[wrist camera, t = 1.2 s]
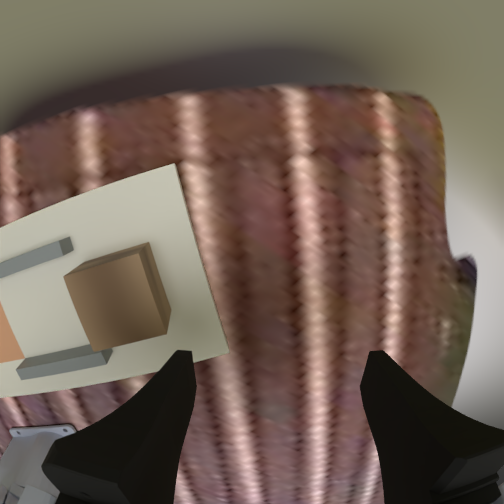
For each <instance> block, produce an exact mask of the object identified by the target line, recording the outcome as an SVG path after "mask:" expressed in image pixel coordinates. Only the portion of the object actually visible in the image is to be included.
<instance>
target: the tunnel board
mask: <svg viewBox="0 0 504 504" xmlns="http://www.w3.org/2000/svg"><path fill="white" fill-rule="evenodd" d="M147 242H149V243H150V246H151V249H152V253H153V256H154V259H155V262H156V265H157V269H158V272H159V275H160V278H161V281H162V284H163V287H164V290H165V293H166V296H167V299H168V301H169V304H170V307H171V315H170V320H169V326H168V331H167V334H166V335H162V336H158V337H154V338H150V339H146V340H142V341H138V342H134V343H130V344H125V345H121V346H117V347H113V348H108V349H104V350H100V351H95V352H94V351H93V349H92V347H91V345H90V342H89V340H88V338H87V336H86V334H85V331H84V329H83V327H82V324H81V322H80V319H79V317H78V315H77V312H76V310H75V307H74V305H73V302H72V300H71V297H70V294H69V292H68V289H67V286H66V283H65V281H64V278H63V276H65V275H66V274H67V273H69V272H70V271H72V270H73V269H75V268H76V267H78V266H79V265H80V264H82V263H83V262H85V261H88V260H92V259H95V258H98V257H101V256H104V255H107V254H111V253H114V252H117V251H120V250H124V249H127V248H130V247H133V246H137V245H140V244H143V243H147ZM176 350H188V351H192V356H193V363H194V362H198V361H202V360H205V359H209V358H213V357H217V356H220V355H224V354H227V353H230V351H229V347H228V342H227V339H226V336H225V333H224V329H223V326H222V323H221V320H220V317H219V314H218V311H217V307H216V304H215V301H214V298H213V294H212V291H211V288H210V285H209V281H208V278H207V275H206V271H205V268H204V265H203V261H202V258H201V254H200V251H199V247H198V244H197V240H196V237H195V233H194V230H193V226H192V223H191V219H190V216H189V212H188V208H187V205H186V201H185V197H184V193H183V190H182V186H181V182H180V178H179V174H178V171H177V167H176V165H175V164H171V165H168V166H164V167H161V168H157V169H154V170H151V171H148V172H144V173H141V174H138V175H135V176H132V177H129V178H126V179H123V180H120V181H117V182H114V183H111V184H108V185H105V186H102V187H99V188H97V189H94V190H91V191H88V192H86V193H83V194H80V195H78V196H75V197H72V198H70V199H67V200H64V201H62V202H59V203H57V204H54V205H52V206H49V207H47V208H44V209H42V210H40V211H37V212H35V213H32V214H30V215H28V216H25V217H23V218H21V219H19V220H16V221H14V222H12V223H10V224H7V225H5V226H3V227H1V228H0V398H3V397H12V396H21V395H29V394H37V393H44V392H51V391H58V390H65V389H71V388H77V387H83V386H88V385H94V384H99V383H105V382H110V381H115V380H120V379H125V378H130V377H134V376H139V375H144V374H148V373H153V372H157V371H159V370H160V369H161V368H162V366H163V365H164V364H165V363H166V362H167V361H168V359H169V358H170V357H171V356H172V355H173V353H174V352H175V351H176Z"/></svg>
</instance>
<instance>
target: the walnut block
mask: <svg viewBox="0 0 504 504" xmlns="http://www.w3.org/2000/svg"><path fill="white" fill-rule="evenodd" d="M63 278H64V281H65V283H66V286H67V289H68V292H69V294H70V297H71V300H72V302H73V305H74V307H75V310H76V312H77V315H78V317H79V319H80V322H81V324H82V327H83V329H84V331H85V334H86V336H87V338H88V340H89V342H90V345H91V347H92V349H93V351H94V352H95V351H100V350H104V349H108V348H113V347H117V346H121V345H125V344H130V343H134V342H138V341H142V340H146V339H150V338H154V337H158V336H162V335H166V334H167V331H168V326H169V320H170V315H171V307H170V304H169V301H168V299H167V296H166V293H165V290H164V287H163V284H162V281H161V278H160V275H159V272H158V269H157V265H156V262H155V259H154V256H153V253H152V249H151V246H150V243H149V242H147V243H143V244H140V245H137V246H133V247H130V248H127V249H124V250H120V251H117V252H114V253H111V254H107V255H104V256H101V257H98V258H95V259H92V260H88V261H85V262H83V263H82V264H80V265H79V266H78V267H76V268H75V269H73V270H72V271H70V272H69V273H67V274H66V275H65V276H63Z"/></svg>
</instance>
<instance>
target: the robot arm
mask: <svg viewBox="0 0 504 504" xmlns="http://www.w3.org/2000/svg"><path fill="white" fill-rule="evenodd" d="M196 388H197V385H196V378H195V371H194V363H193V356H192V351H188V350H176V351H175V352H174V353H173V355H172V356H171V357H170V358H169V359H168V361H167V362H166V363H165V364H164V365H163V366H162V368H161V369H160V370H159V371H158V372H157V373H156V374H155V375H154V376H153V377H152V378H151V380H150V381H149V382H148V383H147V384H146V385H145V386H144V387H143V388H141V389H140V390H139V391H138V392H137V393H136V394H135V395H134V396H133V397H132V398H131V399H129V400H128V401H127V402H126V403H124V404H123V405H122V406H121V407H119V408H118V409H116V410H115V411H114V412H112V413H111V414H109V415H107V416H106V417H104V418H103V419H101V420H99V421H98V422H96V423H94V424H92V425H90V426H88V427H86V428H84V429H82V430H80V431H78V432H77V431H76V430H75V429H74V427H73V426H72V425H69V424H66V425H55V426H42V427H24V428H11V429H10V430H9V431H10V433H11V435H12V436H13V438H12V440H11V442H10V443H9V445H8V447H7V449H6V450H5V452H4V454H3V456H2V457H1V459H0V504H173V502H174V493H175V485H176V478H177V471H178V465H179V458H180V454H181V450H182V446H183V443H184V439H185V436H186V432H187V429H188V425H189V422H190V418H191V415H192V411H193V407H194V401H195V395H196ZM360 390H361V396H362V402H363V407H364V410H365V413H366V416H367V420H368V423H369V426H370V429H371V432H372V435H373V438H374V441H375V445H376V448H377V452H378V456H379V462H380V468H381V474H382V482H383V490H384V503H385V504H504V483H503V484H501V485H500V486H499V487H498V485H497V483H496V481H498V479H499V476H498V474H497V471H498V470H499V469H500V468H501V467H502V466H503V465H504V430H502V429H498V428H495V427H492V426H488V425H486V424H483V423H481V422H479V421H476V420H474V419H472V418H470V417H467V416H465V415H463V414H461V413H460V412H458V411H456V410H454V409H453V408H451V407H449V406H448V405H446V404H445V403H443V402H442V401H440V400H439V399H437V398H436V397H435V396H433V395H432V394H431V393H429V392H428V391H427V390H426V389H424V388H423V387H422V386H421V385H420V384H419V383H417V382H416V381H415V380H414V379H413V378H412V377H411V376H410V375H408V374H407V373H406V372H405V371H404V370H403V369H402V368H401V367H400V366H399V365H398V364H397V363H396V362H395V361H394V360H393V359H392V358H391V357H390V356H389V355H388V354H387V353H385V352H384V351H383V350H381V351H370V352H369V355H368V359H367V363H366V367H365V370H364V374H363V377H362V381H361V384H360ZM66 429H67V430H66Z"/></svg>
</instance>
